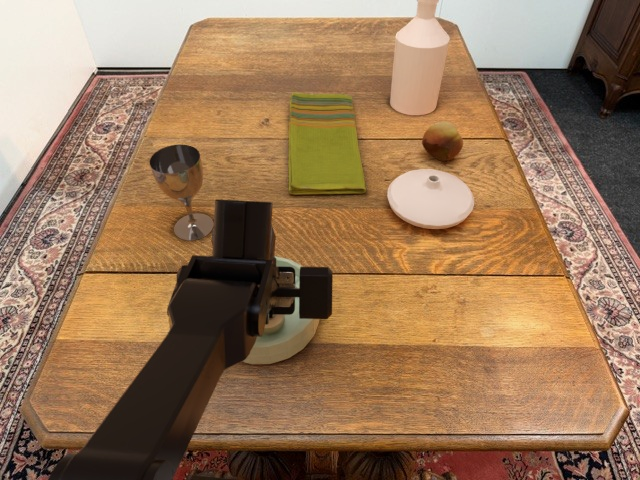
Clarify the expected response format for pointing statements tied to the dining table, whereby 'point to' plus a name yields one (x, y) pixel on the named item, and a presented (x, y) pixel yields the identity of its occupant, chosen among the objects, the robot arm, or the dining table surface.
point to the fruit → (442, 141)
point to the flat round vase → (430, 198)
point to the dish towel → (323, 145)
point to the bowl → (284, 331)
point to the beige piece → (274, 324)
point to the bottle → (419, 62)
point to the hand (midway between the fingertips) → (265, 284)
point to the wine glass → (182, 186)
